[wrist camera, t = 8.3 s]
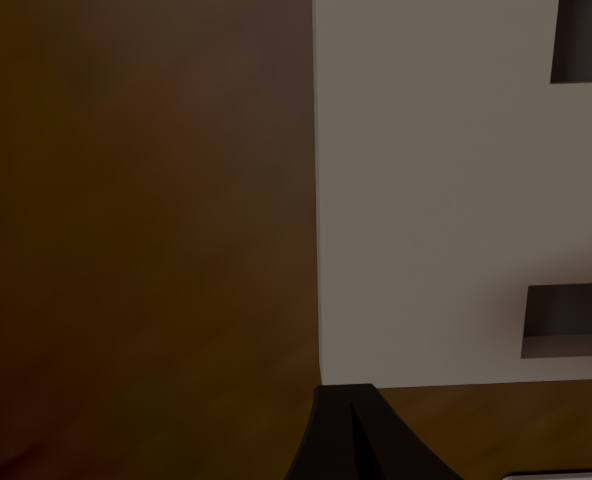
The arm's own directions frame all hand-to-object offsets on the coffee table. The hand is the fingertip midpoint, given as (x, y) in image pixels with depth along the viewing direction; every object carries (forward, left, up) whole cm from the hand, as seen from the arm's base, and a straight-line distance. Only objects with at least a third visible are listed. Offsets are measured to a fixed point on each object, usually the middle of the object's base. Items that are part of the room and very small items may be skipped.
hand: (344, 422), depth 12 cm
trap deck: (+3, -11, -9) cm, 15 cm away
